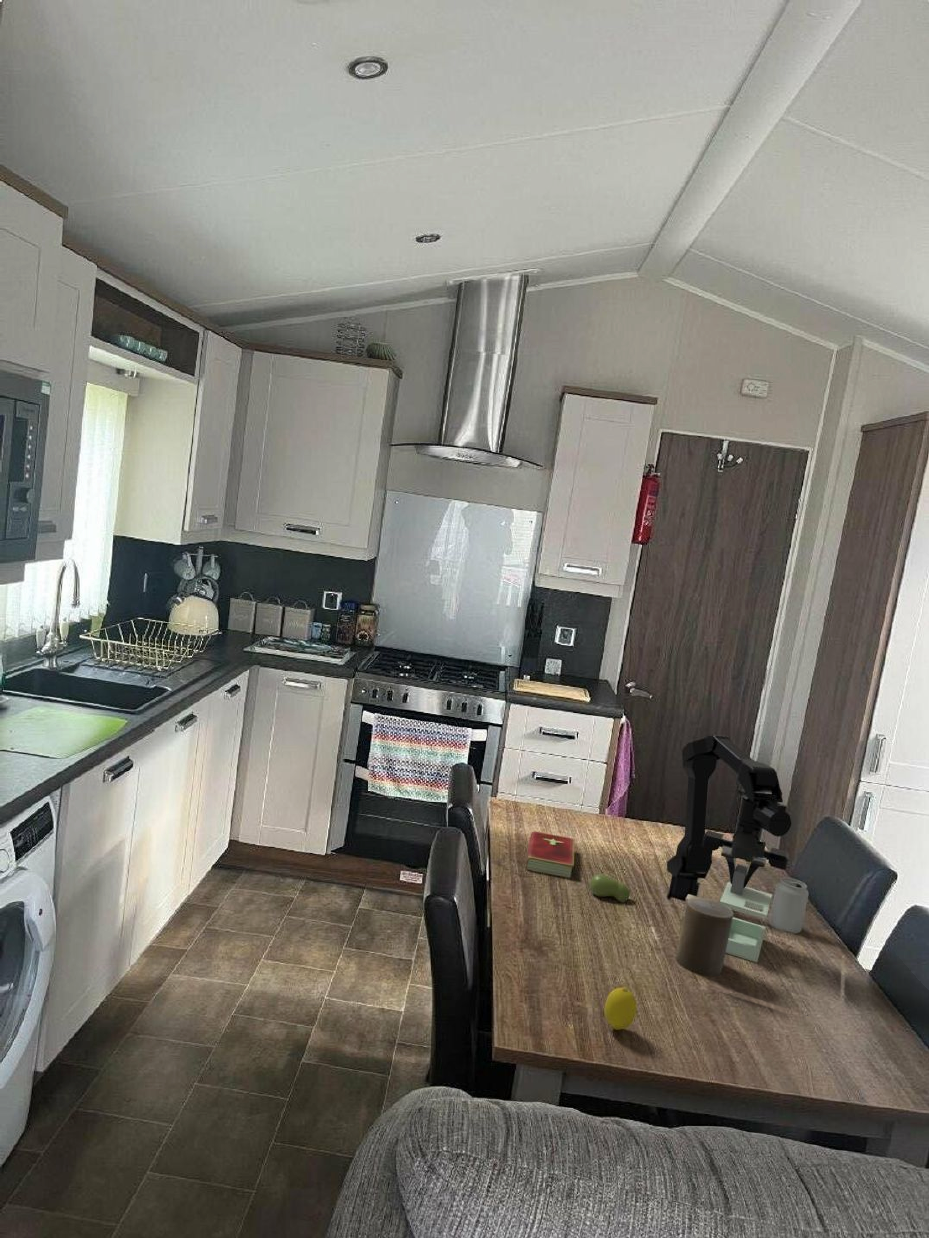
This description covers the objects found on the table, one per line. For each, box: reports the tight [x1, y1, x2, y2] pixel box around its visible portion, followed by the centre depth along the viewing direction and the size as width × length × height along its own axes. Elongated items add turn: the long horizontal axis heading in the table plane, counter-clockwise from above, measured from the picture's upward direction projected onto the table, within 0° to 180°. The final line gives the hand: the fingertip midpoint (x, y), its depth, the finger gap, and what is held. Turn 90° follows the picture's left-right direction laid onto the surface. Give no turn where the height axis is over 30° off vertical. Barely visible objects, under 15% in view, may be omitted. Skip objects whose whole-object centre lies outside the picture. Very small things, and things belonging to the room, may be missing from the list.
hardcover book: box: [525, 830, 575, 879], centre depth 247 cm, size 12×21×4 cm, turn 173°
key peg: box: [679, 894, 701, 933], centre depth 212 cm, size 3×3×9 cm
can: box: [768, 877, 810, 935], centre depth 225 cm, size 8×8×12 cm
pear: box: [589, 873, 632, 903], centre depth 228 cm, size 6×5×10 cm
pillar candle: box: [674, 896, 734, 977], centre depth 196 cm, size 10×10×15 cm
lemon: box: [604, 987, 637, 1031], centre depth 167 cm, size 6×6×8 cm
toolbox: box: [725, 916, 766, 963], centre depth 210 cm, size 10×14×4 cm
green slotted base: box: [719, 863, 773, 920], centre depth 209 cm, size 10×14×6 cm
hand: (738, 885), depth 213 cm, fingers closed on green slotted base, 2 cm apart
